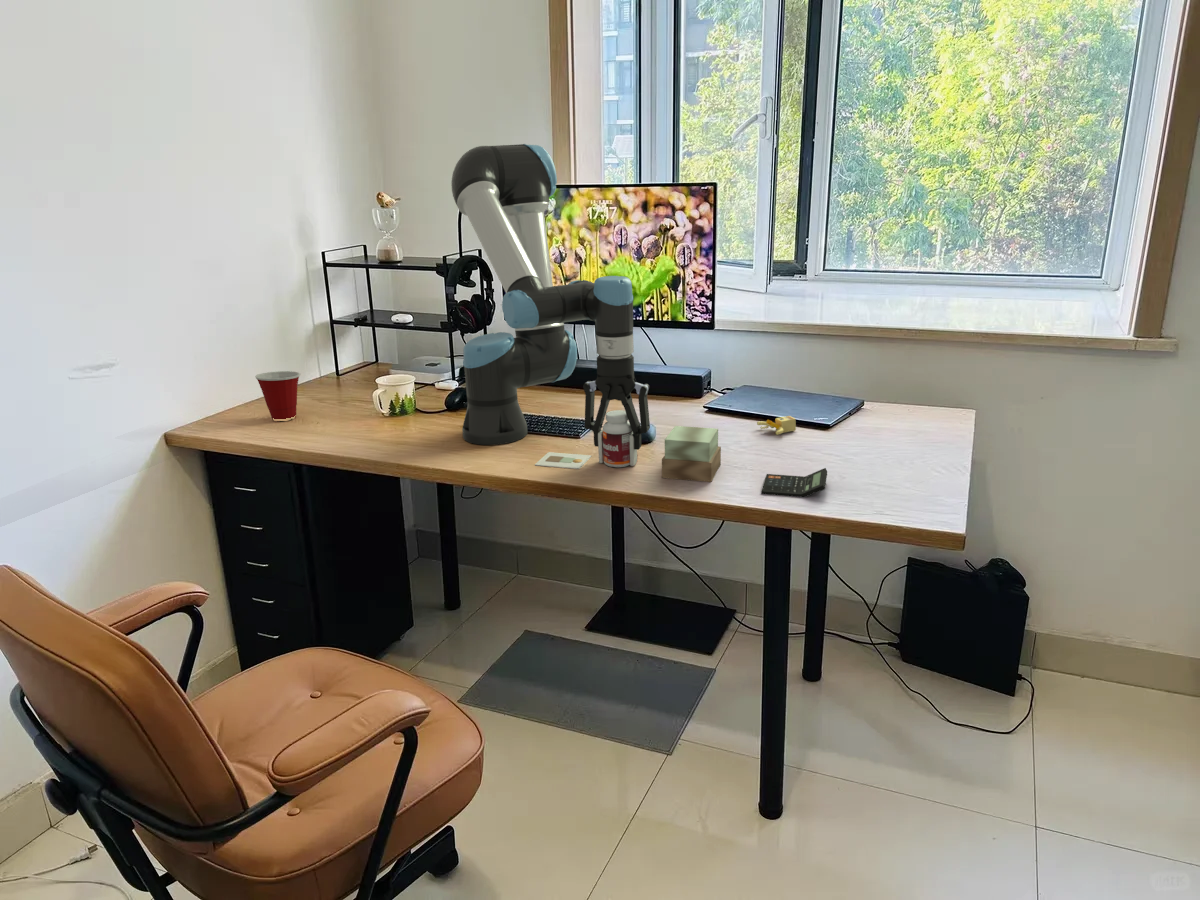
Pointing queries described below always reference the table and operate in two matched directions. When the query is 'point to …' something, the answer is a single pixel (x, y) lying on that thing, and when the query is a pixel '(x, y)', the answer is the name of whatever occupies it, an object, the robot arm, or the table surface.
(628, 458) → the pill bottle
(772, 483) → the calculator
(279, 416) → the plastic cup
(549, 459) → the page
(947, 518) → the table surface
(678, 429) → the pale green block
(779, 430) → the character toy
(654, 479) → the table surface
